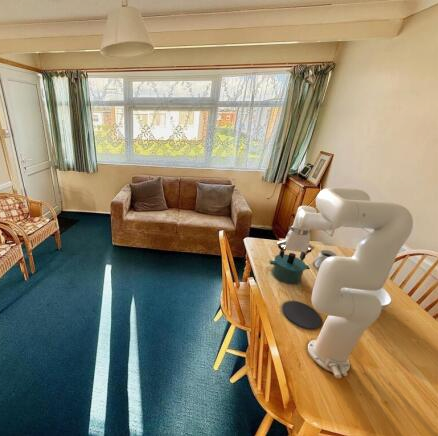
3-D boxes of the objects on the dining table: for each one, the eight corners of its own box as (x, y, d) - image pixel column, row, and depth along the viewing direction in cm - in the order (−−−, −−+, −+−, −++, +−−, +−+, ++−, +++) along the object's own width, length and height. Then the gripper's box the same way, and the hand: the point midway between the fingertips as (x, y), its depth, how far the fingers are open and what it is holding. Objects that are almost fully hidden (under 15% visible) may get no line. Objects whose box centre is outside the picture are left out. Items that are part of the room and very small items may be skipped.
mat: (327, 332, 94) (328, 331, 94) (287, 325, 97) (287, 324, 97) (313, 305, 107) (313, 304, 107) (278, 299, 110) (278, 298, 110)
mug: (332, 266, 133) (338, 252, 129) (333, 276, 126) (340, 261, 121) (310, 261, 138) (315, 247, 134) (310, 269, 131) (315, 255, 127)
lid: (310, 274, 115) (313, 264, 112) (277, 270, 118) (280, 260, 116) (300, 258, 128) (303, 248, 125) (271, 254, 131) (273, 245, 128)
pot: (309, 286, 118) (314, 273, 115) (269, 280, 123) (273, 268, 119) (300, 270, 130) (304, 258, 127) (264, 265, 135) (267, 253, 131)
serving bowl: (334, 307, 106) (339, 296, 103) (325, 279, 123) (329, 269, 120) (393, 323, 98) (401, 311, 95) (374, 291, 115) (380, 280, 112)
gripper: (283, 231, 113) (275, 259, 120) (323, 235, 109) (312, 264, 116) (279, 224, 119) (271, 251, 127) (316, 228, 115) (306, 256, 123)
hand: (291, 257), depth 122 cm, fingers open, 9 cm apart
